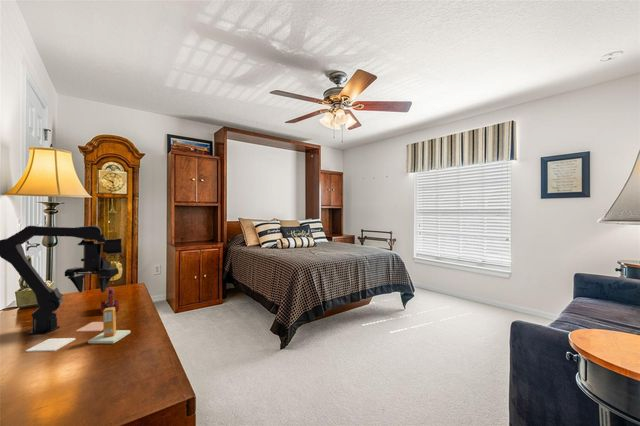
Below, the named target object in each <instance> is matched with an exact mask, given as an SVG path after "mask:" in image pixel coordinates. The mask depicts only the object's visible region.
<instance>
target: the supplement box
mask: <svg viewBox="0 0 640 426" xmlns="http://www.w3.org/2000/svg"><path fill="white" fill-rule="evenodd" d="M102 320H103V321H102V322H103V327H104V329H103V332H104V337H110V336H114V335H115V333H116V330H117V324H116V323H117V317H116V311H115V307H111V308H105V309H104V311H103V313H102Z"/></svg>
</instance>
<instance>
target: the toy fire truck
mask: <svg viewBox="0 0 640 426" xmlns="http://www.w3.org/2000/svg"><path fill="white" fill-rule="evenodd" d="M114 293H115V291H114V289H113V287H112V286H107V296H106V300H103V301H100V314H103V311H104V309H105V308H111V307H115V312H118V311H119V310H120V302H119V299H118V298H117V299H115V297H114Z"/></svg>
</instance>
